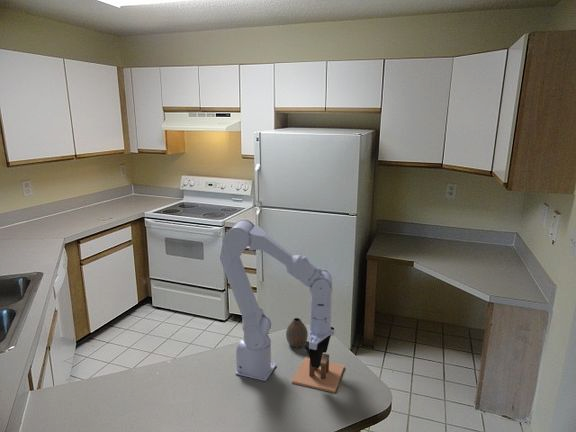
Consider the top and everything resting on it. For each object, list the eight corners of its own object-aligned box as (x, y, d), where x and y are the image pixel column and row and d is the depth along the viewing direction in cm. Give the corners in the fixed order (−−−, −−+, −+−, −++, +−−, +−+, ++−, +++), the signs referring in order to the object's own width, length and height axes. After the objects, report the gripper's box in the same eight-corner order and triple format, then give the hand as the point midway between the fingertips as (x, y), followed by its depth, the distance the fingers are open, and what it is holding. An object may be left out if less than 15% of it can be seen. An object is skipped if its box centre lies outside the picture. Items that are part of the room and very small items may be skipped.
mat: (292, 383, 110) (292, 381, 109) (305, 359, 121) (305, 357, 120) (334, 392, 106) (335, 390, 106) (344, 367, 117) (344, 365, 117)
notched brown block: (324, 379, 110) (325, 363, 109) (309, 376, 112) (309, 360, 110) (328, 370, 114) (329, 354, 113) (313, 366, 116) (314, 351, 115)
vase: (306, 338, 132) (306, 314, 130) (308, 350, 125) (308, 324, 123) (285, 338, 132) (285, 314, 130) (286, 350, 125) (286, 325, 123)
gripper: (328, 330, 101) (326, 377, 104) (340, 305, 114) (338, 348, 117) (301, 325, 103) (301, 371, 106) (316, 302, 116) (315, 343, 120)
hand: (319, 358), depth 112 cm, fingers open, 7 cm apart
